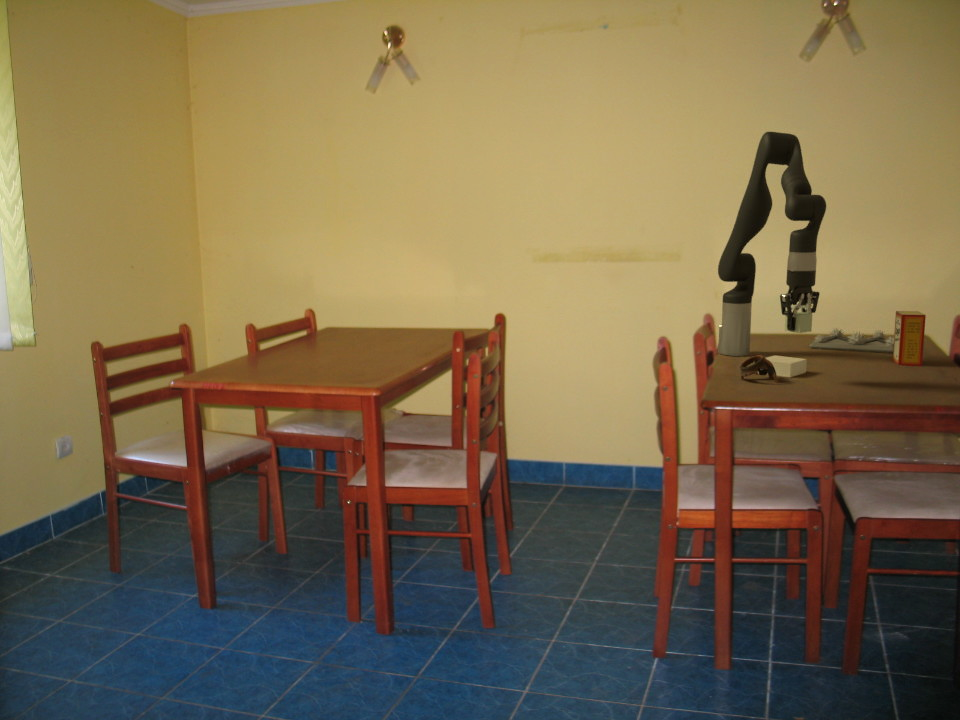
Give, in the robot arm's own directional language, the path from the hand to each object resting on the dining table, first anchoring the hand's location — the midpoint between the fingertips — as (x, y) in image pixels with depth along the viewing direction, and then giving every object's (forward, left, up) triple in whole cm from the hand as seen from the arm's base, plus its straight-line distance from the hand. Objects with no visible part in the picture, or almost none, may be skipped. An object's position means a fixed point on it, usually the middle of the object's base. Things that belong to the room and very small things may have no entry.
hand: (797, 329), depth 249 cm
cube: (0, 0, 0) cm, 0 cm away
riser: (-8, +9, -15) cm, 19 cm away
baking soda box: (+13, +49, -15) cm, 52 cm away
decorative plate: (-11, +71, -15) cm, 73 cm away
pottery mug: (-8, -5, -15) cm, 18 cm away
